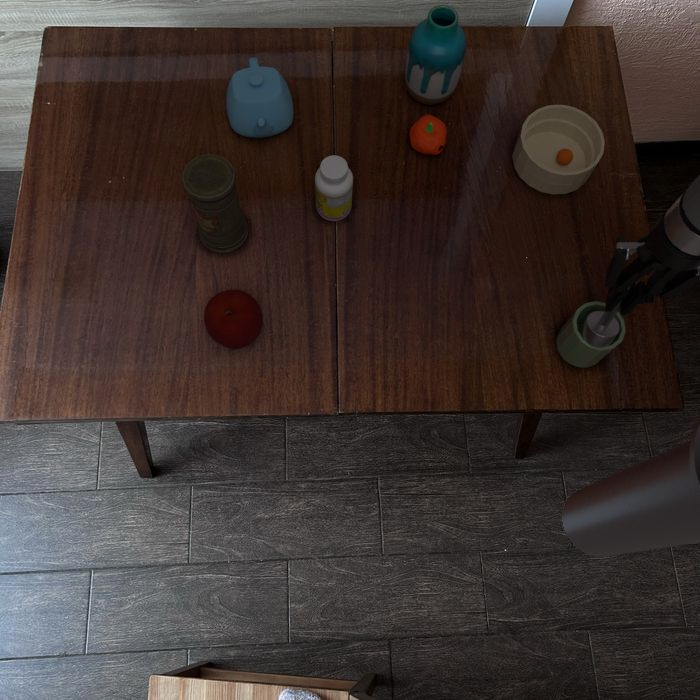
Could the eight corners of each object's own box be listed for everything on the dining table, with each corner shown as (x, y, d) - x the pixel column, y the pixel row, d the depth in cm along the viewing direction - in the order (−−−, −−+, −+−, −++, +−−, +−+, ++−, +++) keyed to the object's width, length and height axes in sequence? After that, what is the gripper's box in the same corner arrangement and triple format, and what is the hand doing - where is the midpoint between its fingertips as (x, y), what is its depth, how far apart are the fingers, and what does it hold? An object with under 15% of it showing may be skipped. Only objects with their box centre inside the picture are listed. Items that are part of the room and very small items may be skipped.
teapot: (226, 128, 121) (216, 47, 127) (234, 164, 131) (224, 87, 137) (298, 120, 122) (285, 39, 128) (300, 156, 132) (288, 80, 138)
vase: (398, 72, 139) (408, -6, 121) (450, 69, 140) (468, -10, 122) (405, 116, 136) (417, 42, 118) (459, 112, 136) (478, 38, 118)
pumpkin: (443, 126, 135) (449, 104, 129) (446, 161, 132) (452, 140, 126) (407, 126, 135) (410, 104, 129) (409, 161, 132) (413, 140, 126)
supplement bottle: (315, 192, 129) (313, 150, 117) (350, 190, 130) (352, 148, 117) (316, 223, 127) (315, 184, 115) (352, 222, 127) (355, 182, 115)
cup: (602, 372, 119) (623, 355, 110) (552, 361, 119) (569, 343, 111) (607, 328, 122) (628, 308, 113) (559, 317, 122) (576, 296, 114)
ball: (573, 160, 129) (556, 157, 129) (570, 169, 132) (554, 166, 132) (575, 146, 130) (559, 144, 130) (572, 156, 132) (556, 153, 133)
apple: (230, 297, 122) (222, 271, 112) (276, 323, 120) (272, 299, 111) (199, 340, 119) (188, 318, 109) (246, 367, 117) (239, 347, 108)
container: (226, 201, 128) (211, 141, 111) (259, 232, 126) (248, 176, 109) (189, 231, 126) (167, 174, 109) (221, 263, 124) (204, 210, 107)
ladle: (605, 352, 110) (674, 253, 91) (575, 336, 111) (637, 235, 93) (617, 331, 113) (685, 231, 94) (587, 316, 114) (649, 214, 95)
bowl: (585, 203, 130) (599, 182, 123) (506, 186, 131) (515, 164, 124) (595, 137, 135) (608, 114, 129) (518, 121, 136) (527, 97, 129)
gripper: (755, 216, 84) (666, 294, 106) (635, 190, 85) (571, 272, 107) (752, 271, 82) (661, 339, 104) (628, 243, 82) (564, 316, 105)
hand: (616, 305), depth 105 cm, fingers closed on ladle, 2 cm apart
